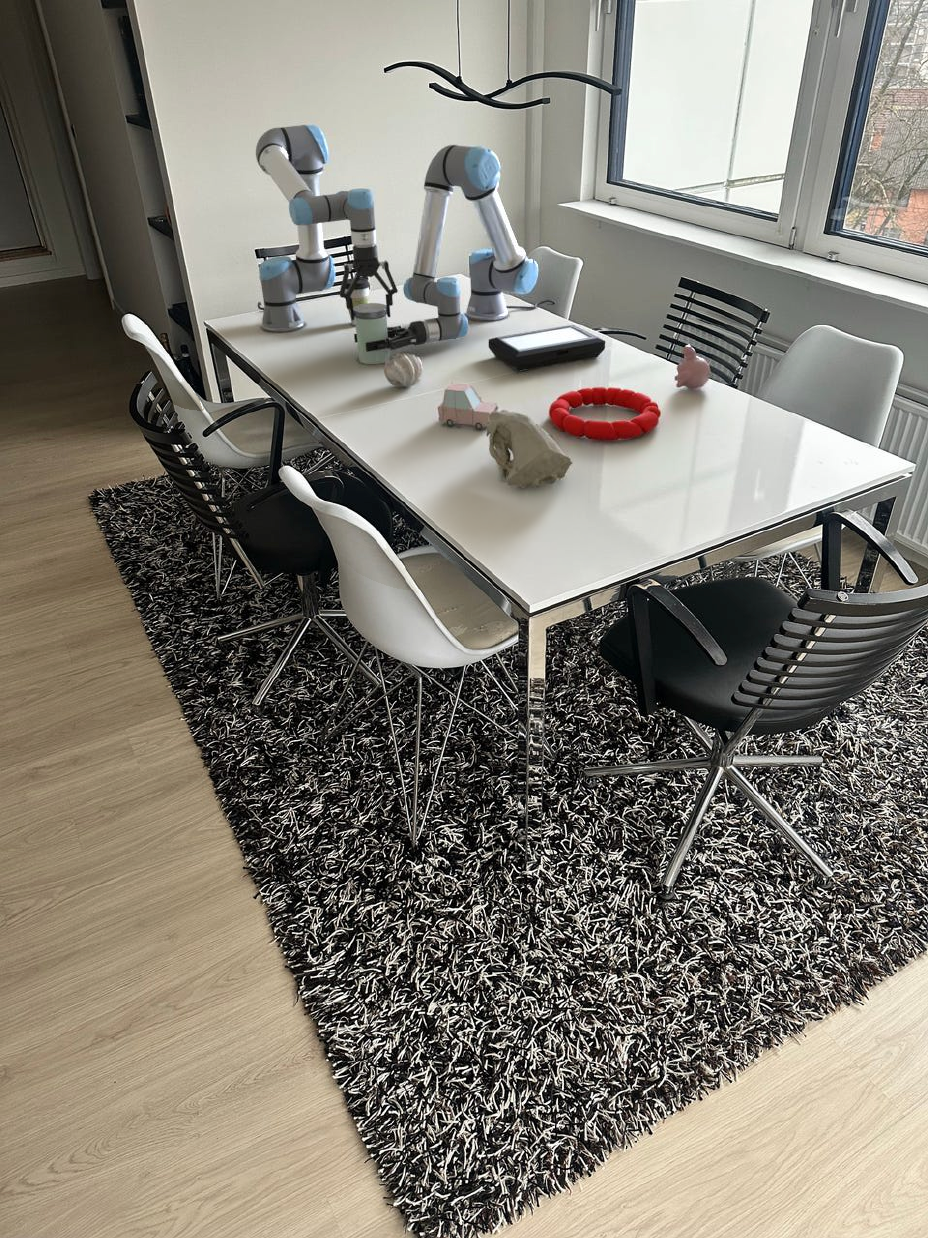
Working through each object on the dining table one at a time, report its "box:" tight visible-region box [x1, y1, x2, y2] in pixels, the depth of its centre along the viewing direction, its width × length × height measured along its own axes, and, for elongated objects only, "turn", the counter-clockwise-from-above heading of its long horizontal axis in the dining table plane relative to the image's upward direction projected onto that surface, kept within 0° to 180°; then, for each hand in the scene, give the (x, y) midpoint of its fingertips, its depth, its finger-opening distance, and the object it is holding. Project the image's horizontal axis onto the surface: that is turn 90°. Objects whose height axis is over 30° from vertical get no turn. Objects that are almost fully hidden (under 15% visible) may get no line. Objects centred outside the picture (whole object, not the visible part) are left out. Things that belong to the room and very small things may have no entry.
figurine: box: [674, 344, 711, 390], centre depth 259 cm, size 9×11×12 cm
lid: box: [353, 302, 388, 318], centre depth 284 cm, size 11×11×2 cm
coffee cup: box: [345, 277, 371, 326], centre depth 323 cm, size 10×10×15 cm
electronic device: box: [488, 324, 606, 372], centre depth 288 cm, size 32×6×20 cm
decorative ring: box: [548, 386, 661, 442], centre depth 242 cm, size 7×30×30 cm
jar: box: [355, 314, 390, 365], centre depth 289 cm, size 10×10×16 cm
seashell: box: [383, 352, 424, 388], centre depth 268 cm, size 10×15×10 cm
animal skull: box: [485, 409, 573, 489], centre depth 216 cm, size 17×25×20 cm
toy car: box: [437, 382, 499, 431], centre depth 243 cm, size 9×15×10 cm, turn 70°
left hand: (370, 317), depth 286 cm, fingers closed on lid, 11 cm apart
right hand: (360, 342), depth 288 cm, fingers closed on jar, 10 cm apart
